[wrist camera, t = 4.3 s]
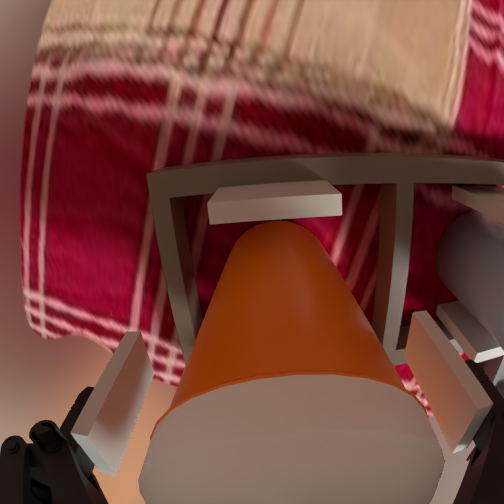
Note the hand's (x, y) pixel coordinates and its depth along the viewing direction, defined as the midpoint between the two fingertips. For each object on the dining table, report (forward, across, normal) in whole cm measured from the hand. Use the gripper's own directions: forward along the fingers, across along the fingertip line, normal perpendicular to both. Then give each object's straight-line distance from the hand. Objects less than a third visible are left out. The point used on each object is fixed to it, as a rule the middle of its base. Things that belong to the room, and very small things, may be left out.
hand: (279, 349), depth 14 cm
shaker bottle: (+9, 0, 0) cm, 9 cm away
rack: (+9, +8, 0) cm, 12 cm away
